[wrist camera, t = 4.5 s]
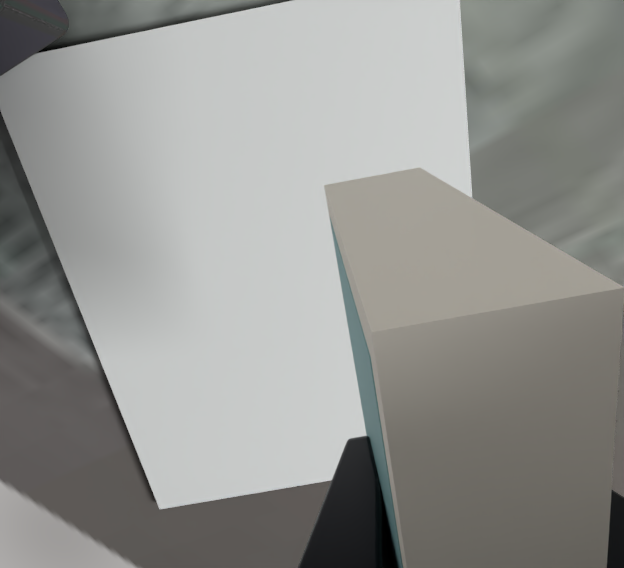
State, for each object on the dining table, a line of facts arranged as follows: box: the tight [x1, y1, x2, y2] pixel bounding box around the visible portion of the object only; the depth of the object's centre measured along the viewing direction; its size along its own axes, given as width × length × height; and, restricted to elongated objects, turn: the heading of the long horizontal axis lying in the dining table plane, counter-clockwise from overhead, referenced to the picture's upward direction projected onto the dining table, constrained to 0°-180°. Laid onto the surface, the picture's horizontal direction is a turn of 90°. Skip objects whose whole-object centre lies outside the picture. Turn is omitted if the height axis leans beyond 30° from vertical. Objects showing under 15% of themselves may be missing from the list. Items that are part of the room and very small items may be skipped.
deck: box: [324, 167, 624, 568], centre depth 8 cm, size 9×2×6 cm, turn 11°
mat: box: [0, 0, 472, 509], centre depth 20 cm, size 20×16×1 cm
